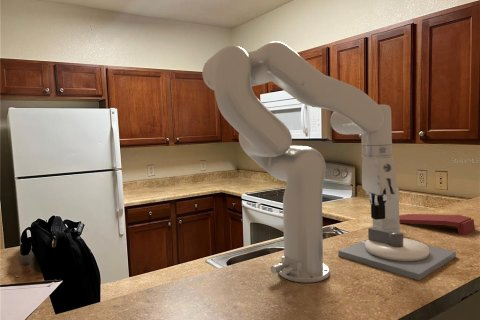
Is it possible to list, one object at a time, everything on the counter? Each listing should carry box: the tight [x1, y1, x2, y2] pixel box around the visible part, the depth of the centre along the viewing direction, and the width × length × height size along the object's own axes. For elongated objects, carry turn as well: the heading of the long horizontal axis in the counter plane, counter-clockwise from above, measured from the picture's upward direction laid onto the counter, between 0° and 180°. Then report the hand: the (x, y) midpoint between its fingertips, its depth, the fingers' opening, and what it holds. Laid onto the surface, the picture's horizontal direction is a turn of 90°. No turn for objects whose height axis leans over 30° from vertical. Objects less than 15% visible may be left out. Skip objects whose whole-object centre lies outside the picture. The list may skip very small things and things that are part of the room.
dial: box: [365, 226, 429, 261], centre depth 94 cm, size 16×16×5 cm
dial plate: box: [338, 238, 457, 281], centre depth 94 cm, size 22×22×2 cm
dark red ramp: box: [399, 213, 476, 236], centre depth 124 cm, size 12×5×25 cm
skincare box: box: [372, 187, 401, 232], centre depth 117 cm, size 8×7×16 cm
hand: (378, 218), depth 93 cm, fingers closed
